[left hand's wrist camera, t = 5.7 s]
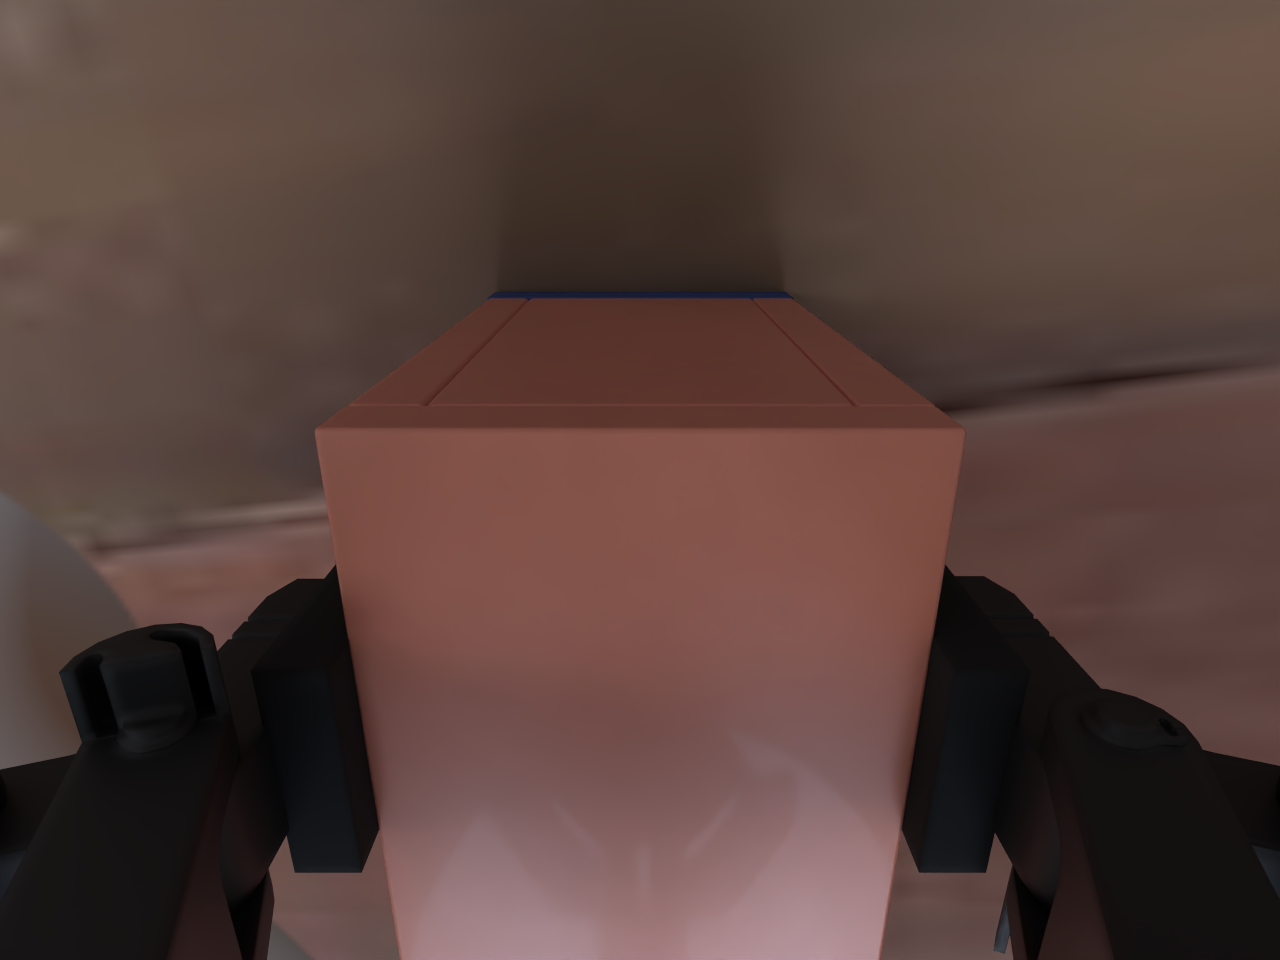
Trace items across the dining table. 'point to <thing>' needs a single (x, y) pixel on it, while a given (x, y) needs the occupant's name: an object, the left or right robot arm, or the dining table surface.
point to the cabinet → (640, 626)
